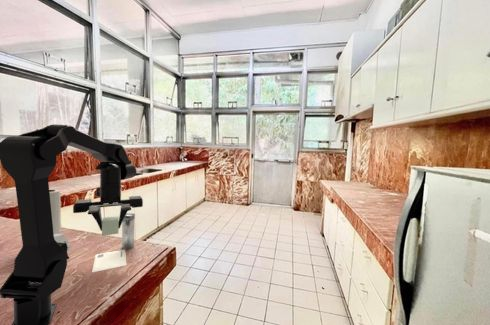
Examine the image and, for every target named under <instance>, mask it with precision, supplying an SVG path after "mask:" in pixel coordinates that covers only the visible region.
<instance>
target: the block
mask: <svg viewBox="0 0 490 325" xmlns="http://www.w3.org/2000/svg"><path fill="white" fill-rule="evenodd" d="M119 217H120V215H119V216H118V215H115V216H107V217H102V231H101V236H102V237H103V236H111V235H118V234H119V229H120V228H119Z"/></svg>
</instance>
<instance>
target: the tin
mask: <svg viewBox="0 0 490 325" xmlns="http://www.w3.org/2000/svg"><path fill="white" fill-rule="evenodd" d="M135 217H136V214H135V213H131V212H130V213H128V212H127V213H126V215H125V217H124V219H123V221H122V224H121V226H122V227H121V228H122V230H121V234H122V235H121V250H124V249H125V250H129V249H133V248H134V247H135V219H136V218H135Z"/></svg>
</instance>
